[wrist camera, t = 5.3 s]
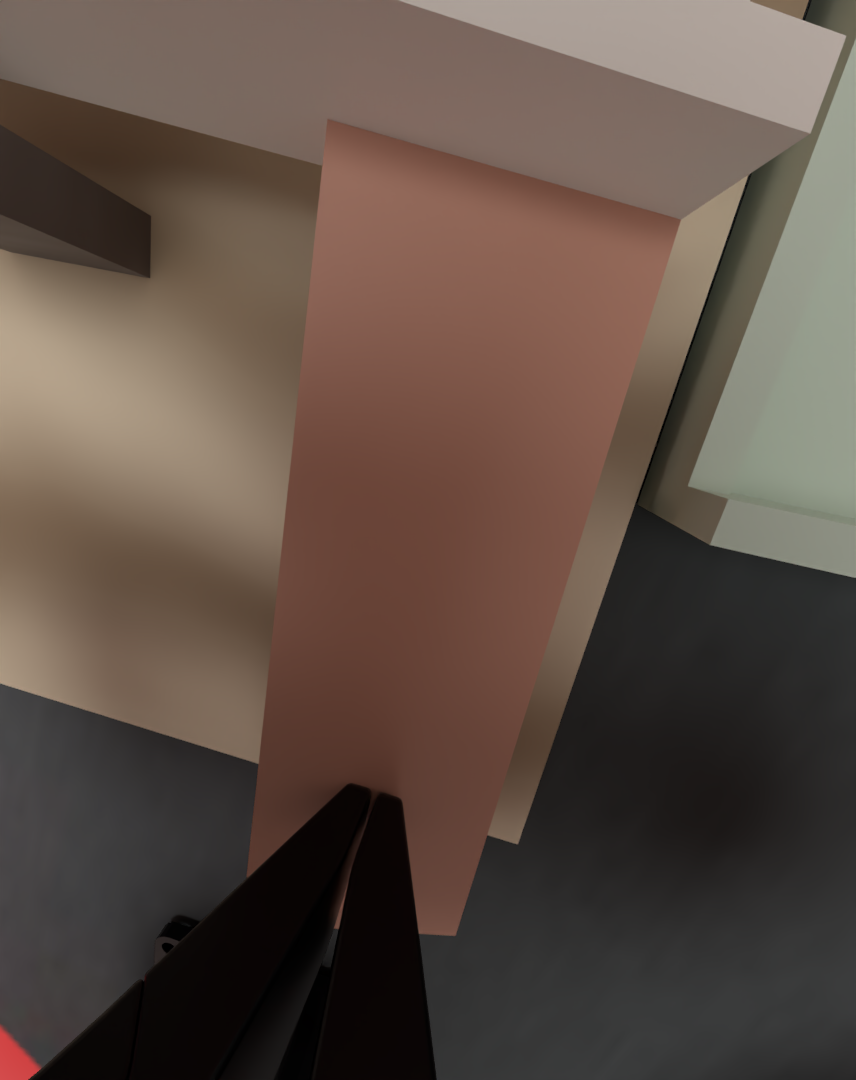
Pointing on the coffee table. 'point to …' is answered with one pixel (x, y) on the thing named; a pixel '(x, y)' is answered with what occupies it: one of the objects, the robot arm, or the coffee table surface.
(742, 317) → the tray
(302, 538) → the lever
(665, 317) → the lever stand
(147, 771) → the coffee table surface
